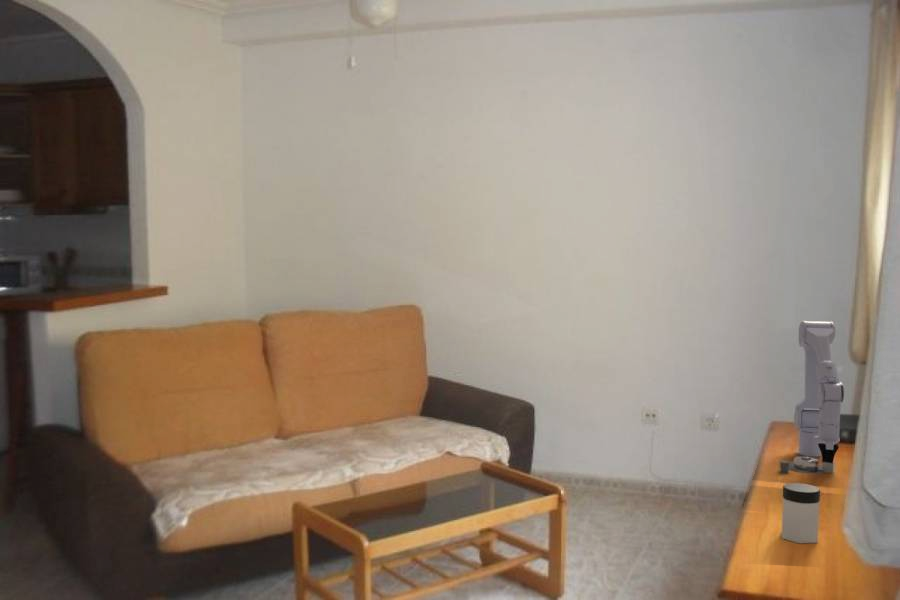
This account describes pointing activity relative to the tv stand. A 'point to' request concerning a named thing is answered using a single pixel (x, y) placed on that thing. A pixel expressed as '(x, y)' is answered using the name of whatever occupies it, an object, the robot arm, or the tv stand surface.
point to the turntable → (825, 467)
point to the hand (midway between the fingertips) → (827, 468)
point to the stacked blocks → (784, 466)
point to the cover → (806, 463)
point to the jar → (800, 513)
